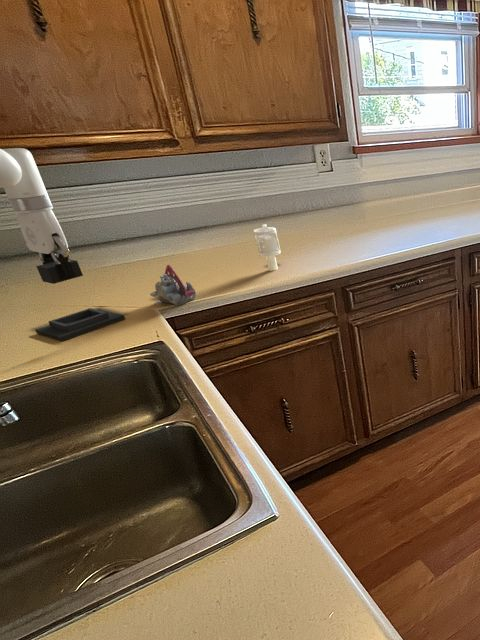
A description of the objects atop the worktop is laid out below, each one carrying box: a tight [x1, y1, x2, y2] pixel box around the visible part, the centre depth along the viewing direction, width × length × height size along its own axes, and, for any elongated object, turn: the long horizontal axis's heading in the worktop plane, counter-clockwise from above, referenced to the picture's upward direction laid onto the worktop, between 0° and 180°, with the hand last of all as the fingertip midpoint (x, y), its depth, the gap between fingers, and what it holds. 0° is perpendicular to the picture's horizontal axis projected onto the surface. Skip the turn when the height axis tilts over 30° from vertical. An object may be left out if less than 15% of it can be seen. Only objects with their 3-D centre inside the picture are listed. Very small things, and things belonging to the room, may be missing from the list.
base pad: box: [34, 307, 126, 342], centre depth 138 cm, size 16×12×3 cm
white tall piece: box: [253, 223, 282, 272], centre depth 177 cm, size 7×7×15 cm
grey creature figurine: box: [149, 264, 197, 306], centre depth 151 cm, size 11×11×12 cm
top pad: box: [36, 259, 84, 285], centre depth 131 cm, size 7×5×4 cm
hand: (62, 276), depth 132 cm, fingers closed on top pad, 5 cm apart
